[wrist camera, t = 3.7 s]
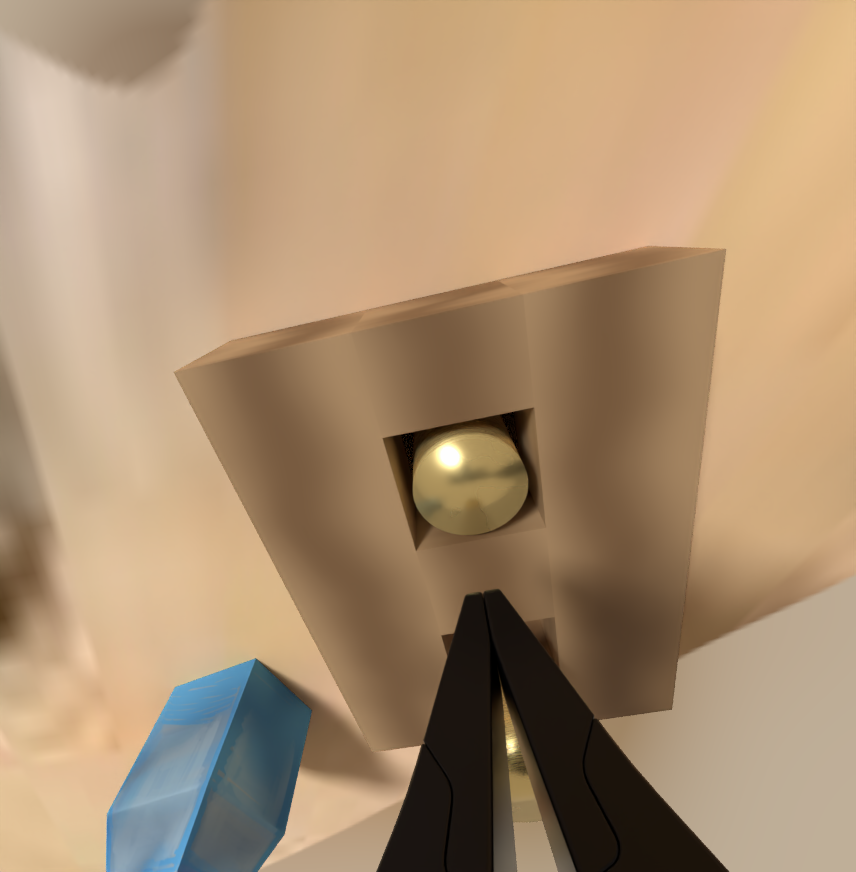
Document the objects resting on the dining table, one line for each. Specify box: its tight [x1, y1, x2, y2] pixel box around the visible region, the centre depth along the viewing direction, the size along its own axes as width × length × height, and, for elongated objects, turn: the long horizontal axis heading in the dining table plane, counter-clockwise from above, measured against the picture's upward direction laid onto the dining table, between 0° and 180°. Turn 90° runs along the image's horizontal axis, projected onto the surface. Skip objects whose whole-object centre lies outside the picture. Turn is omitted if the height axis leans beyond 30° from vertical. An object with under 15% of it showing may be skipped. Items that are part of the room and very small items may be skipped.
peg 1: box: [413, 415, 528, 535], centre depth 15 cm, size 4×4×4 cm
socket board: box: [174, 246, 726, 752], centre depth 18 cm, size 16×22×4 cm
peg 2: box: [497, 667, 542, 822], centre depth 16 cm, size 4×4×4 cm
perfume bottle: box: [106, 658, 312, 872], centre depth 20 cm, size 6×6×12 cm
